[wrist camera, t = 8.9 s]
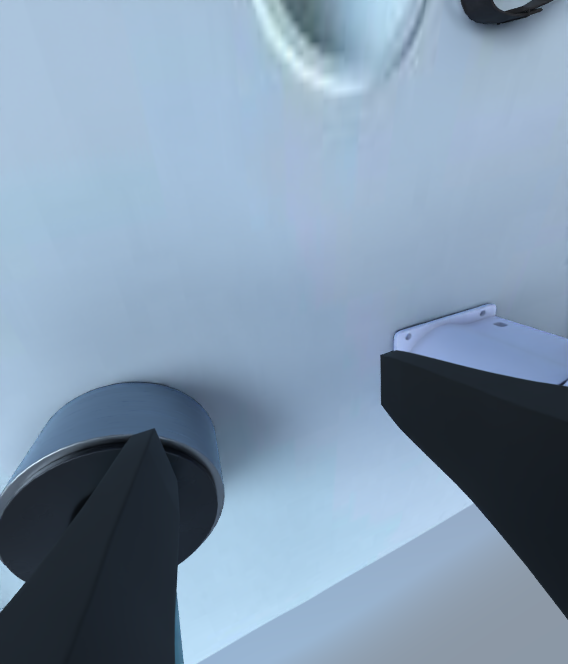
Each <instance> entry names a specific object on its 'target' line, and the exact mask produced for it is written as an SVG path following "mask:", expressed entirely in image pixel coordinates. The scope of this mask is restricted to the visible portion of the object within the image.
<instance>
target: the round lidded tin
mask: <svg viewBox="0 0 568 664" xmlns="http://www.w3.org/2000/svg"><path fill="white" fill-rule="evenodd" d="M153 428H155V430H156V432H157V434H158V437H159V439H160V441H161V443H162V446H163V448H164V450H165V453H166V455H167V457H168V460H169V462H170V464H171V467H172V469H173V471H174V474H175V476H176V478H177V484H178V496H179V512H180V524H179V548H178V565H179V564H180V563H181V562H183V561H184V560H185V559H187V558H188V557H189V556H190V555H191V554H192V553H193V552H194V551H195V550H196V549H197V548H198V547H199V546H200V545H201V544H202V543H203V542H204V541H205V540H206V538H207V537H208V536H209V535H210V533H211V532H212V531H213V529H214V527H215V526H216V524H217V522H218V520H219V518H220V516H221V512H222V509H223V505H224V497H225V495H224V484H223V478H222V471H221V465H220V459H219V453H218V447H217V440H216V434H215V430H214V426H213V423H212V421H211V419H210V417H209V415H208V414H207V412H206V411H205V410H204V409H203V407H202V406H201V405H200V404H199V403H197V402H196V401H195V400H194V399H192V398H191V397H189V396H188V395H186V394H184V393H182V392H180V391H178V390H176V389H173V388H170V387H167V386H163V385H158V384H153V383H142V382H136V383H121V384H114V385H109V386H105V387H101V388H98V389H95V390H92V391H90V392H87V393H85V394H83V395H81V396H79V397H77V398H75V399H74V400H72V401H71V402H69V403H67V404H66V405H65V406H64V407H62V408H61V409H60V410H59V411H57V412H56V413H55V415H54V416H53V417H52V418H51V419H50V420H49V421H48V423H47V424H46V426H45V427H44V428H43V430H42V432H41V433H40V435H39V436H38V438H37V439H36V441H35V442H34V444H33V445H32V447H31V448H30V450H29V451H28V453H27V455H26V456H25V458H24V459H23V461H22V462H21V464H20V465H19V467H18V468H17V470H16V471H15V473H14V475H13V476H12V478H11V479H10V481H9V482H8V484H7V485H6V487H5V488H4V490H3V491H2V493H1V494H0V560H1V561H2V562H3V564H4V565H6V566H7V568H8V569H9V570H10V571H11V572H12V573H14V574H15V575H16V576H17V577H19V578H20V579H22V580H23V581H25V582H26V581H27V580H28V579H29V577H30V576H31V575H32V574H33V573H34V571H35V570H36V569H37V567H38V566H39V565H40V564H41V562H42V561H43V560H44V559H45V557H46V556H47V555H48V553H49V552H50V550H51V549H52V548H53V546H54V545H55V544H56V542H57V541H58V540H59V538H60V537H61V536H62V534H63V533H64V532H65V530H66V529H67V528H68V526H69V525H70V524H71V522H72V521H73V520H74V518H75V517H76V516H77V514H78V513H79V512H80V510H81V509H82V507H83V506H84V505H85V503H86V502H87V500H88V499H89V497H90V496H91V494H92V493H93V491H94V490H95V489H96V487H97V486H98V484H99V483H100V481H101V480H102V478H103V477H104V475H105V474H106V472H107V471H108V469H109V468H110V466H111V465H112V463H113V462H114V460H115V459H116V457H117V456H118V454H119V453H120V451H121V450H122V448H123V447H124V445H125V444H126V442H127V441H128V440H129V438H130V437H131V435H134V434H137V433H140V432H144V431H147V430H150V429H153Z"/></svg>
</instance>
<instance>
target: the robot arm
mask: <svg viewBox="0 0 568 664" xmlns="http://www.w3.org/2000/svg"><path fill="white" fill-rule="evenodd" d="M496 310H497V307H496V305H494V304H486V305H483V306H480V307H476V308H473V309H470V310H467V311H463V312H460V313H457V314H453V315H450V316H447V317H443V318H440V319H437V320H434V321H430V322H427V323H424V324H420V325H417V326H414V327H411V328H407V329H404V330H401V331H398V332H397V333H396V334H395V336H394V351H391V352H388V353H385V354H382V355H381V405H382V406H383V408H384V409H385V410H386V412H387V413H388V414H389V416H390V417H391V418H392V419H393V421H394V422H395V423H396V424H397V426H398V427H399V428H400V429H401V430H402V431H403V432H404V433H405V434H406V435H407V436H408V437H409V438H410V439H411V440H412V441H413V442H414V443H415V444H416V445H417V446H418V447H419V448H420V449H421V450H422V451H423V452H424V453H425V454H426V455H427V456H428V457H429V458H430V459H431V460H432V461H433V462H434V463H435V464H436V465H437V466H438V467H439V468H440V469H441V470H442V471H443V472H444V473H445V474H446V475H447V476H448V477H449V478H451V479H452V480H453V481H454V482H455V483H456V484H457V485H458V486H459V488H460V489H461V490H462V491H463V492H464V493H465V494H466V495H467V496H468V497H469V498H470V499H471V500H472V501H473V503H474V504H475V505H476V506H477V507H478V508H479V510H480V511H481V512H482V513H483V514H484V515H485V517H486V518H487V519H488V520H489V521H490V522H491V524H492V525H493V526H494V527H495V528H496V529H497V531H498V532H499V533H500V534H501V535H502V537H503V538H504V539H505V540H506V542H507V543H508V544H509V545H510V546H511V547H512V549H513V550H514V551H515V553H516V554H517V555H518V556H519V557H520V559H521V560H522V561H523V562H524V564H525V565H526V566H527V567H528V568H529V570H530V571H531V572H532V574H533V575H534V576H535V578H536V579H537V580H538V582H539V583H540V584H541V585H542V587H543V588H544V589H545V591H546V592H547V593H548V594H549V596H550V597H551V598H552V600H553V601H554V602H555V604H556V605H557V606H558V607H559V609H560V610H561V611H562V613H563V614H564V615H565V617H566V618H567V619H568V339H567V338H564V337H561V336H558V335H555V334H551V333H548V332H545V331H542V330H539V329H535V328H532V327H529V326H526V325H523V324H519V323H516V322H513V321H510V320H507V319H503V318H500V317H497V316H496ZM407 334H408V335H407ZM406 335H407V337H406ZM179 524H180V512H179V496H178V484H177V478H176V476H175V474H174V471H173V469H172V467H171V464H170V462H169V460H168V457H167V455H166V453H165V450H164V448H163V446H162V443H161V441H160V439H159V437H158V434H157V432H156V430H155V428H153V429H150V430H147V431H144V432H140V433H137V434H134V435H131V437H130V438H129V440H128V441H127V442H126V444H125V445H124V447H123V448H122V450H121V451H120V453H119V454H118V456H117V457H116V459H115V460H114V462H113V463H112V465H111V466H110V468H109V469H108V471H107V472H106V474H105V475H104V477H103V478H102V480H101V481H100V483H99V484H98V486H97V487H96V489H95V490H94V491H93V493H92V494H91V496H90V497H89V499H88V500H87V502H86V503H85V505H84V506H83V507H82V509H81V510H80V512H79V513H78V514H77V516H76V517H75V518H74V520H73V521H72V522H71V524H70V525H69V526H68V528H67V529H66V530H65V532H64V533H63V534H62V536H61V537H60V538H59V540H58V541H57V542H56V544H55V545H54V546H53V548H52V549H51V550H50V552H49V553H48V555H47V556H46V557H45V559H44V560H43V561H42V562H41V564H40V565H39V566H38V567H37V569H36V570H35V571H34V573H33V574H32V575H31V576H30V577H29V579H28V580H27V581H26V582H25V584H24V585H23V586H22V587H21V589H20V590H19V591H18V592H17V593H16V595H15V596H14V597H13V598H12V599H11V601H10V602H9V603H8V604H7V605H6V607H5V608H4V609H3V610H2V611H1V613H0V664H175V609H176V588H177V568H178V548H179Z"/></svg>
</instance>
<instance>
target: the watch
mask: <svg viewBox="0 0 568 664" xmlns="http://www.w3.org/2000/svg"><path fill="white" fill-rule="evenodd" d="M551 1H553V0H532V1H530V2H529V3H527V4H526V5H524V6H522V7H518V8H515V9H511V10H507V11H505V12H504V11H502V10H500V9H499V8H497V7H496V5H495V4H494V2H493V0H461V4H462V7H463V9H464V11H465V13H466V15H467V16H468V17H469V18H470V19H471V20H473V21H475V22H477V23H483V24H494V23H497V25H498V24H500V23H506V22H510V21H514V20H517V19H521V18H525V17H528V16H530V15H532V14H535V13H538V12H541V11H542V10H543V9H542V8H538V7H540V6H542V5H545V4H547V3H549V2H551ZM536 8H538V9H536ZM532 9H533V10H532ZM525 11H526V12H525ZM521 12H522V13H521ZM517 13H519V14H517Z"/></svg>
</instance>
